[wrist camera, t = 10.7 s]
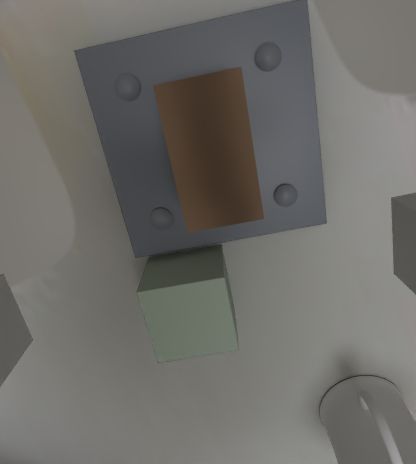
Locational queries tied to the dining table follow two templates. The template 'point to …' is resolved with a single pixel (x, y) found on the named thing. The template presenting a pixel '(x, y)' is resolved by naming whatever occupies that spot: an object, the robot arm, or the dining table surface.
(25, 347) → the robot arm
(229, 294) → the sage brick
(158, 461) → the dining table surface
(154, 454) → the dining table surface
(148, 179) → the plate
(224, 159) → the walnut brick
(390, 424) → the mug
